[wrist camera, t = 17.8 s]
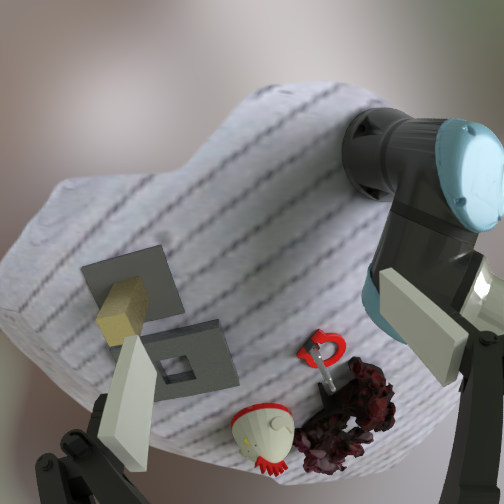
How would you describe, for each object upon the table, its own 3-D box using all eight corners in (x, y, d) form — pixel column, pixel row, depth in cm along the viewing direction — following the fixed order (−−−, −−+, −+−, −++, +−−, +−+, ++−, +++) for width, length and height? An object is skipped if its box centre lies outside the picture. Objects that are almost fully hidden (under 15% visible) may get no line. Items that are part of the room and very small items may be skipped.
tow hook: (351, 340, 59) (320, 323, 56) (381, 384, 47) (349, 370, 44) (324, 369, 61) (291, 355, 57) (348, 415, 49) (313, 405, 46)
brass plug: (140, 275, 47) (125, 312, 37) (149, 300, 48) (138, 341, 38) (114, 282, 46) (95, 319, 36) (125, 306, 48) (109, 346, 38)
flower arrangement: (337, 352, 59) (367, 404, 45) (402, 363, 64) (434, 405, 50) (272, 443, 68) (284, 491, 54) (335, 445, 73) (353, 486, 59)
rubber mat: (161, 244, 46) (160, 245, 46) (184, 311, 51) (184, 313, 50) (82, 266, 45) (81, 268, 45) (110, 327, 50) (109, 329, 49)
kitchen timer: (255, 395, 60) (267, 453, 46) (303, 411, 64) (322, 463, 50) (219, 430, 63) (225, 484, 49) (267, 443, 67) (279, 492, 53)
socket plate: (218, 319, 52) (219, 327, 50) (238, 376, 57) (239, 385, 55) (112, 342, 51) (109, 350, 49) (142, 394, 56) (141, 403, 54)
